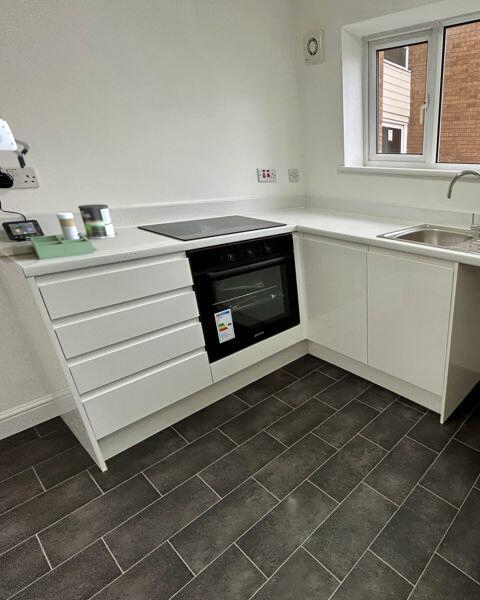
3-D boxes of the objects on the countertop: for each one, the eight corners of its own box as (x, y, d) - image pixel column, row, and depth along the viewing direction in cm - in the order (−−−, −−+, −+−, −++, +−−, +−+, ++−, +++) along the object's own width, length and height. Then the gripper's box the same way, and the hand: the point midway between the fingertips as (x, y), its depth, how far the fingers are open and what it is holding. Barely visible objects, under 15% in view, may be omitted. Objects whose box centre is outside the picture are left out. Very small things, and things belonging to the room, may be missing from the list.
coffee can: (95, 239, 157) (86, 207, 152) (82, 237, 161) (73, 205, 156) (120, 236, 166) (112, 205, 161) (107, 233, 170) (99, 203, 165)
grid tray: (39, 259, 126) (35, 247, 124) (33, 248, 140) (29, 237, 138) (94, 252, 137) (91, 241, 135) (83, 243, 151) (80, 232, 149)
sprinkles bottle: (71, 246, 142) (60, 212, 137) (84, 245, 143) (74, 212, 138) (64, 248, 138) (53, 214, 133) (78, 248, 139) (67, 214, 134)
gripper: (-55, 111, 113) (-33, 168, 119) (21, 117, 125) (38, 168, 131) (-54, 113, 117) (-33, 167, 123) (19, 118, 129) (35, 168, 136)
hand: (3, 168), depth 127 cm, fingers open, 9 cm apart
